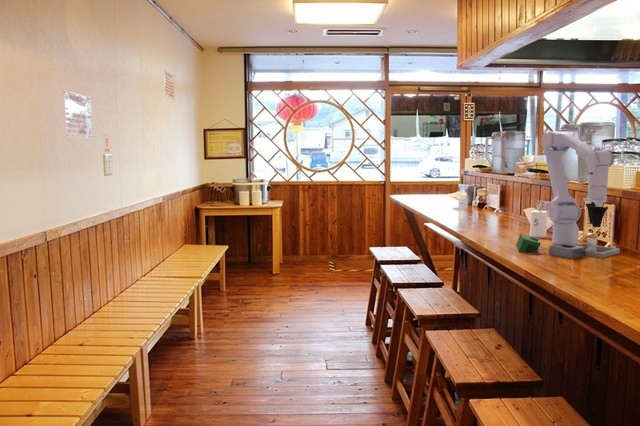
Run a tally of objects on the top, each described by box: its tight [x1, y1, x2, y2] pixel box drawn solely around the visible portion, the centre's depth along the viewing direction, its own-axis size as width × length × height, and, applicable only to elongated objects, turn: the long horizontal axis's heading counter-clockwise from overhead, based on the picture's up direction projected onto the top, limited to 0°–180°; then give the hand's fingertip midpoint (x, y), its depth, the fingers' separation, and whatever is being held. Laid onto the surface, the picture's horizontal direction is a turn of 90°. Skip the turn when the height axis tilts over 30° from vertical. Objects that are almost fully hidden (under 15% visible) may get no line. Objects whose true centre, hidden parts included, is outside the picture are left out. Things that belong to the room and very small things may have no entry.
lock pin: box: [585, 232, 598, 252], centre depth 170 cm, size 3×3×7 cm
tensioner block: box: [548, 243, 586, 260], centre depth 166 cm, size 8×8×4 cm
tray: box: [577, 242, 620, 259], centre depth 171 cm, size 13×13×2 cm
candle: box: [529, 200, 549, 238], centre depth 207 cm, size 6×6×15 cm
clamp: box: [515, 233, 542, 253], centre depth 176 cm, size 12×6×9 cm, turn 157°
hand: (594, 225), depth 170 cm, fingers open, 7 cm apart
